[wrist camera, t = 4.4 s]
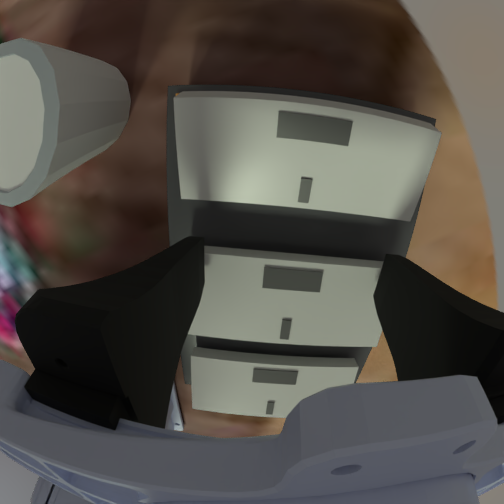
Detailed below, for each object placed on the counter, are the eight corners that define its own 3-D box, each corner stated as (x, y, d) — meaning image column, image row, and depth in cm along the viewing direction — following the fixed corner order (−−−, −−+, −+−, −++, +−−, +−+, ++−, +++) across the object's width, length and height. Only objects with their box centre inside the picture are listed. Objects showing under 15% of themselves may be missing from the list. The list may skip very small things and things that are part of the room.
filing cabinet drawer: (371, 335, 14) (377, 347, 13) (188, 322, 14) (182, 334, 13) (390, 262, 13) (399, 270, 12) (187, 244, 13) (180, 251, 12)
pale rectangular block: (339, 408, 17) (342, 418, 16) (195, 398, 17) (192, 409, 16) (354, 358, 16) (358, 368, 15) (194, 346, 16) (190, 356, 15)
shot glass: (166, 96, 13) (91, 97, 7) (95, 188, 16) (18, 240, 10) (89, 30, 11) (2, 13, 5) (31, 122, 14) (-52, 146, 8)
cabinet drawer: (402, 207, 12) (410, 222, 11) (187, 185, 12) (180, 199, 11) (430, 123, 9) (442, 133, 8) (182, 91, 9) (172, 98, 9)
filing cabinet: (345, 363, 21) (352, 400, 18) (193, 352, 21) (183, 389, 18) (410, 115, 13) (444, 121, 10) (187, 88, 13) (163, 85, 10)
